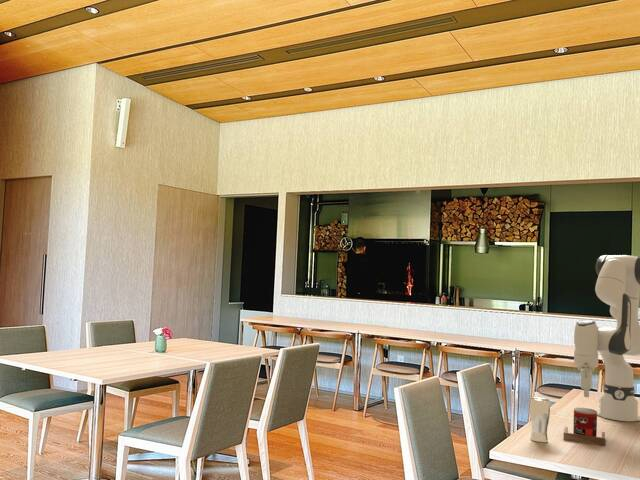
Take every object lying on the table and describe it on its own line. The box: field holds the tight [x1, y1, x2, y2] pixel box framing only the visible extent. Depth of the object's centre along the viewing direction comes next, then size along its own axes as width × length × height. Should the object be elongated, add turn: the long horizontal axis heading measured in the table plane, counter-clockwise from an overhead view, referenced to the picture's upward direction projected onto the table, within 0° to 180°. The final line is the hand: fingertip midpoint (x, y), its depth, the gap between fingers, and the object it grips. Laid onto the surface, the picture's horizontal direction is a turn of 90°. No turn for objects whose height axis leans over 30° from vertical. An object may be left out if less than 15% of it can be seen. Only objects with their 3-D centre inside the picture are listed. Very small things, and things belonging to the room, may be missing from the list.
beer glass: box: [529, 396, 551, 444], centre depth 220 cm, size 7×7×15 cm
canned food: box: [573, 407, 598, 437], centre depth 224 cm, size 8×8×11 cm
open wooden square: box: [563, 426, 606, 447], centre depth 225 cm, size 10×14×2 cm
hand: (586, 396), depth 238 cm, fingers closed
